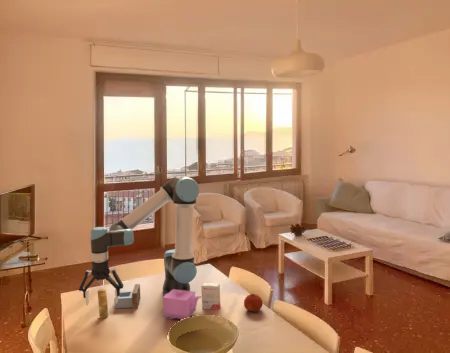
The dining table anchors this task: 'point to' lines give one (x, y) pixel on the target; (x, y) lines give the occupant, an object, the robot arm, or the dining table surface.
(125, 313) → the dining table surface
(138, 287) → the board
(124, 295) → the block
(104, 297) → the golden brown tall cylinder
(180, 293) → the teapot
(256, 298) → the fruit
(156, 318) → the dining table surface
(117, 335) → the dining table surface
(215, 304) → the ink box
